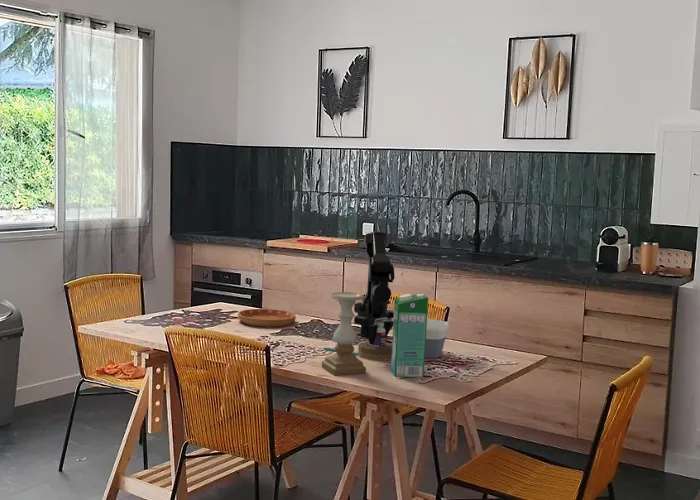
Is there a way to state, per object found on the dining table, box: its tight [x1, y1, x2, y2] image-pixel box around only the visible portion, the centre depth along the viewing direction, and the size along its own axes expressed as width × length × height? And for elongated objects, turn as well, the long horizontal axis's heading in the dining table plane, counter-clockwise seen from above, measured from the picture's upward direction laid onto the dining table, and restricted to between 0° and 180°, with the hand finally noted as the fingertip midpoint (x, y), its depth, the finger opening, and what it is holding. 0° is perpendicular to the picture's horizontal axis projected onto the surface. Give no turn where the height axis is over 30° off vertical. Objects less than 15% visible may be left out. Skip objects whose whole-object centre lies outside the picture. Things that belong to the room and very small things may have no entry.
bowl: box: [425, 318, 450, 360], centre depth 279 cm, size 15×15×11 cm
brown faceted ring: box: [357, 340, 392, 361], centre depth 274 cm, size 12×12×4 cm
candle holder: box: [321, 291, 367, 376], centre depth 252 cm, size 11×11×24 cm
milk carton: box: [390, 292, 429, 378], centre depth 252 cm, size 9×9×25 cm
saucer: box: [237, 308, 297, 328], centre depth 321 cm, size 23×23×4 cm
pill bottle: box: [369, 321, 386, 348], centre depth 274 cm, size 5×5×10 cm
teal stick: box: [323, 347, 359, 356], centre depth 276 cm, size 14×1×1 cm, turn 63°
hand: (376, 342), depth 274 cm, fingers closed on pill bottle, 5 cm apart
